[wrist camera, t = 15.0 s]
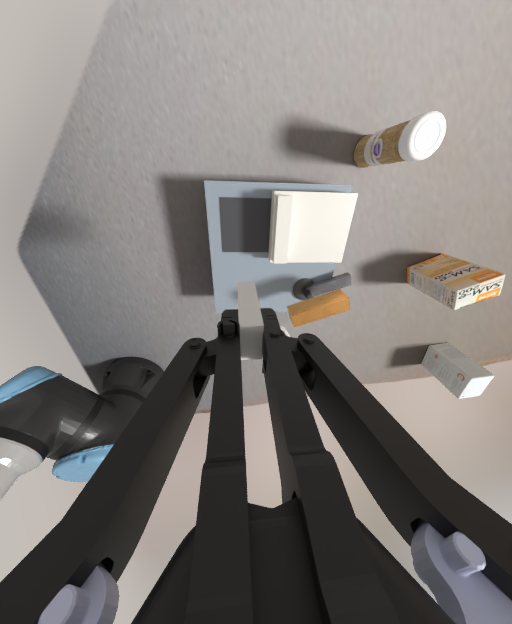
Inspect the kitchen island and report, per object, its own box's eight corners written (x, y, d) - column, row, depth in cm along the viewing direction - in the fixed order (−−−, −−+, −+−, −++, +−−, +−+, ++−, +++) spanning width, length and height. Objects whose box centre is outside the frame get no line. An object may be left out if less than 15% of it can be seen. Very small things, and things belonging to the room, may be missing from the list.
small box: (439, 361, 66) (480, 396, 55) (420, 363, 66) (457, 399, 55) (449, 341, 62) (496, 375, 51) (428, 344, 62) (471, 379, 51)
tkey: (281, 293, 38) (291, 316, 32) (347, 271, 37) (372, 290, 31) (283, 303, 40) (294, 327, 33) (347, 282, 38) (372, 303, 32)
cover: (268, 258, 35) (272, 266, 32) (272, 190, 30) (277, 191, 26) (335, 258, 36) (346, 266, 33) (350, 192, 31) (365, 193, 27)
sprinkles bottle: (350, 144, 35) (406, 124, 23) (376, 129, 34) (448, 100, 23) (355, 173, 37) (410, 167, 26) (380, 159, 36) (448, 147, 25)
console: (218, 295, 47) (215, 314, 40) (209, 181, 36) (203, 180, 29) (311, 293, 49) (325, 311, 42) (331, 185, 38) (354, 185, 31)
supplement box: (442, 252, 47) (508, 272, 36) (440, 270, 49) (501, 295, 38) (405, 266, 48) (458, 290, 37) (405, 284, 50) (454, 311, 39)
